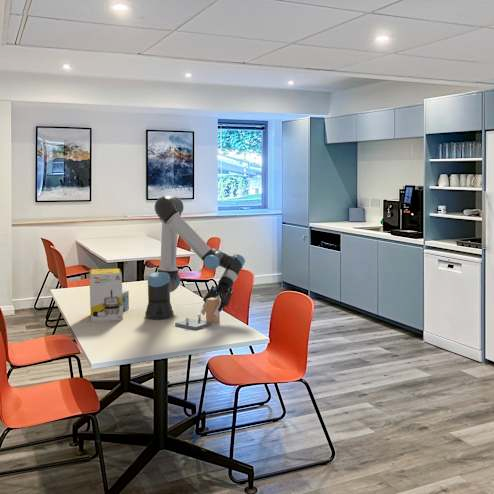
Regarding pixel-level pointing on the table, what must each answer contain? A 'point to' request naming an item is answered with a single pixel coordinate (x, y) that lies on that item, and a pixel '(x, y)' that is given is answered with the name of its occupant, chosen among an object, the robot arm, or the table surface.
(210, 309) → the case
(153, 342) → the table surface
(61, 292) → the table surface
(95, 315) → the packaging box
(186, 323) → the pin tray
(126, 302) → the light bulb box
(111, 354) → the table surface
